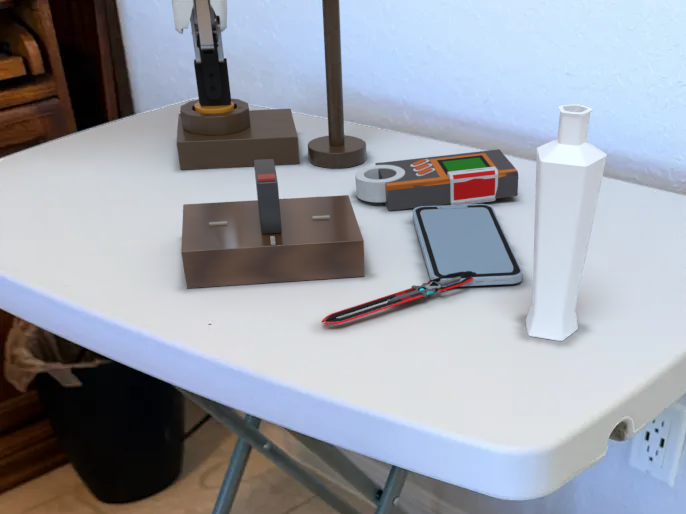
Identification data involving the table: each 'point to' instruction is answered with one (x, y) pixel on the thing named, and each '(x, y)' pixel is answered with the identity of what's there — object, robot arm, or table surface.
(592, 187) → the white vase
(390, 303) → the toy sword
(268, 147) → the button base
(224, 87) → the robot arm
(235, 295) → the table surface
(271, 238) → the panel
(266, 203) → the dimmer knob
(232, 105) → the power button
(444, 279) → the smartphone
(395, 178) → the electronic device
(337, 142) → the lamp
